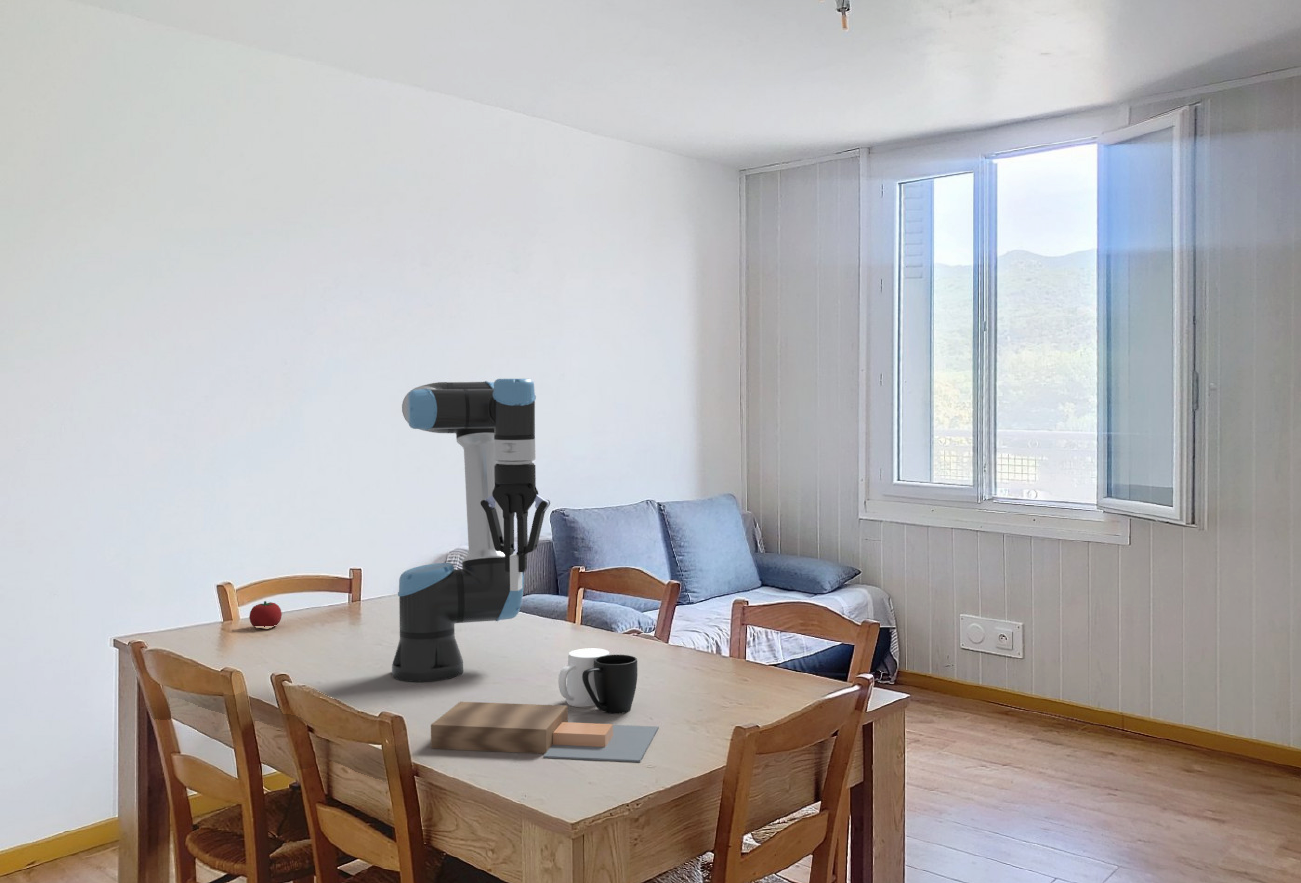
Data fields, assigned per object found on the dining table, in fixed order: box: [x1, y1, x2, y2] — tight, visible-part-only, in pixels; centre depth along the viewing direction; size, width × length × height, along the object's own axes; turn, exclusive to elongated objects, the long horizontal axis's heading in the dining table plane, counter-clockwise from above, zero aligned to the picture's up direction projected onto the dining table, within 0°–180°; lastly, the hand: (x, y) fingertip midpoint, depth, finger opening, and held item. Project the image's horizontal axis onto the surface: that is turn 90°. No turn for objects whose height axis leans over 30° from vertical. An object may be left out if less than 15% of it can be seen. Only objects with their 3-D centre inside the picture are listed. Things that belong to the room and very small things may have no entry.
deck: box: [430, 701, 569, 755], centre depth 179 cm, size 20×14×4 cm
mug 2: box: [582, 654, 638, 715], centre depth 194 cm, size 8×12×10 cm
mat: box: [542, 724, 660, 763], centre depth 176 cm, size 16×18×1 cm
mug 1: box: [558, 647, 610, 708], centre depth 201 cm, size 12×9×8 cm
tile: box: [553, 721, 614, 747], centre depth 176 cm, size 9×6×2 cm, turn 80°
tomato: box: [248, 600, 283, 627], centre depth 275 cm, size 8×8×7 cm
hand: (516, 589), depth 192 cm, fingers closed
